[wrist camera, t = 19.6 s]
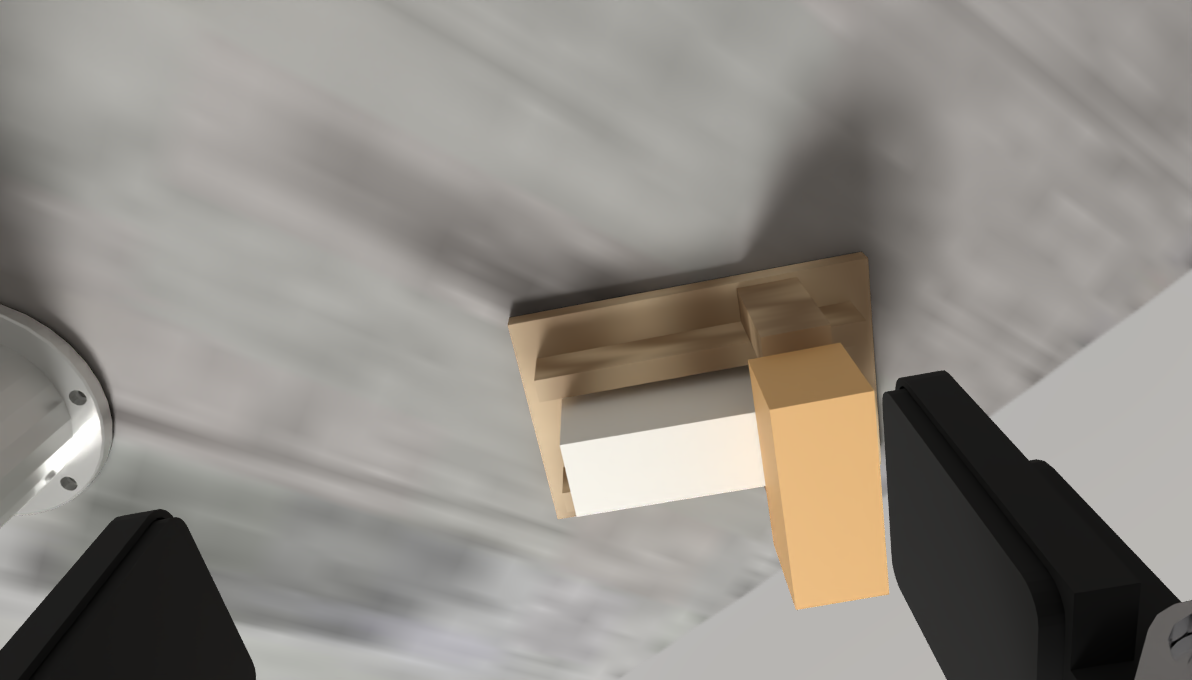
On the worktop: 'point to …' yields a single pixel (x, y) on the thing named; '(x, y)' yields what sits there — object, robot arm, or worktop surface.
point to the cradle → (686, 338)
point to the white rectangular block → (661, 441)
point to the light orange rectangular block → (821, 474)
